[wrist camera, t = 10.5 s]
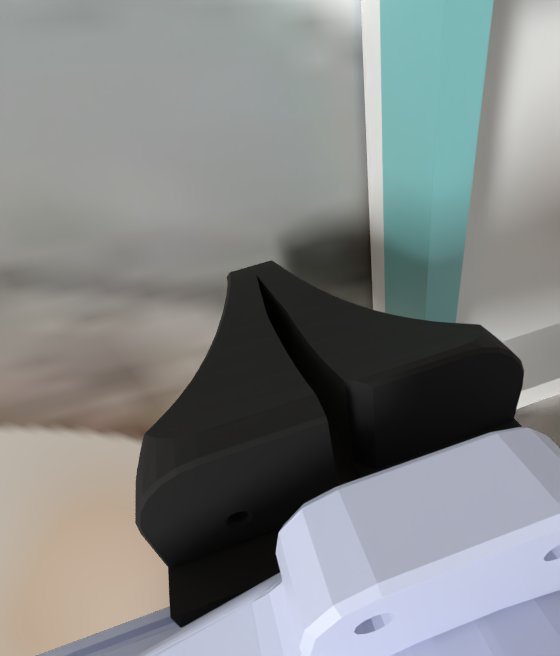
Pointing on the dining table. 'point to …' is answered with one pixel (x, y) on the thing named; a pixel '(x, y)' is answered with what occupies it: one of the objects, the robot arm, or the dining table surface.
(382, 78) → the tray
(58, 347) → the dining table surface
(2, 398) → the dining table surface
